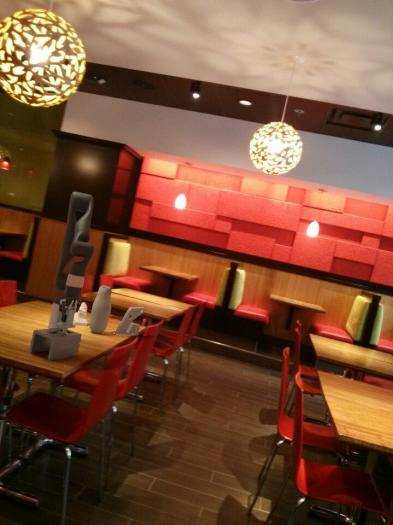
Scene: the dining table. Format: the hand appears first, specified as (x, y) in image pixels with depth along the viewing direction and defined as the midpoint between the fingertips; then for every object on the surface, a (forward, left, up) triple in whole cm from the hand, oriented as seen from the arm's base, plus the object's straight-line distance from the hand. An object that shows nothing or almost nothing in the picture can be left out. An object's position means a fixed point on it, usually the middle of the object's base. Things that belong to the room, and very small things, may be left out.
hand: (66, 321), depth 201 cm
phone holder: (-71, -11, -15) cm, 73 cm away
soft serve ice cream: (-60, -39, -15) cm, 73 cm away
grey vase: (-52, -19, -15) cm, 57 cm away
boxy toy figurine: (0, 0, -9) cm, 9 cm away
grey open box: (+4, 0, -15) cm, 15 cm away
